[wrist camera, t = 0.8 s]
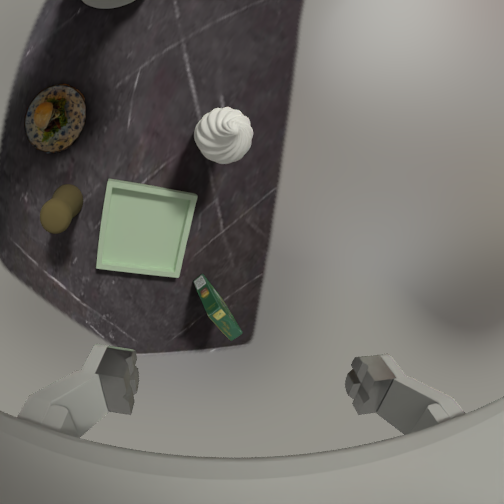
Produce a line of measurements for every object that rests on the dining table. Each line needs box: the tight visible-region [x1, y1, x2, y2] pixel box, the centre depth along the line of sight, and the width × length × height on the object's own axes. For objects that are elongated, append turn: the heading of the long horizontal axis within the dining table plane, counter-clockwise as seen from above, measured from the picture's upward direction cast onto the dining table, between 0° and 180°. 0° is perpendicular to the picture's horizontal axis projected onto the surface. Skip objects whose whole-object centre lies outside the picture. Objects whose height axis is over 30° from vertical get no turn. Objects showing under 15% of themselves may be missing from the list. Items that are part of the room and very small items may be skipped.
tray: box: [96, 179, 198, 278], centre depth 51 cm, size 16×16×2 cm
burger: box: [24, 84, 86, 153], centre depth 35 cm, size 12×12×8 cm
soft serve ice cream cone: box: [194, 107, 253, 164], centre depth 43 cm, size 8×8×16 cm
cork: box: [40, 184, 83, 234], centre depth 39 cm, size 6×6×11 cm
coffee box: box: [193, 274, 243, 341], centre depth 56 cm, size 8×3×13 cm, turn 29°
